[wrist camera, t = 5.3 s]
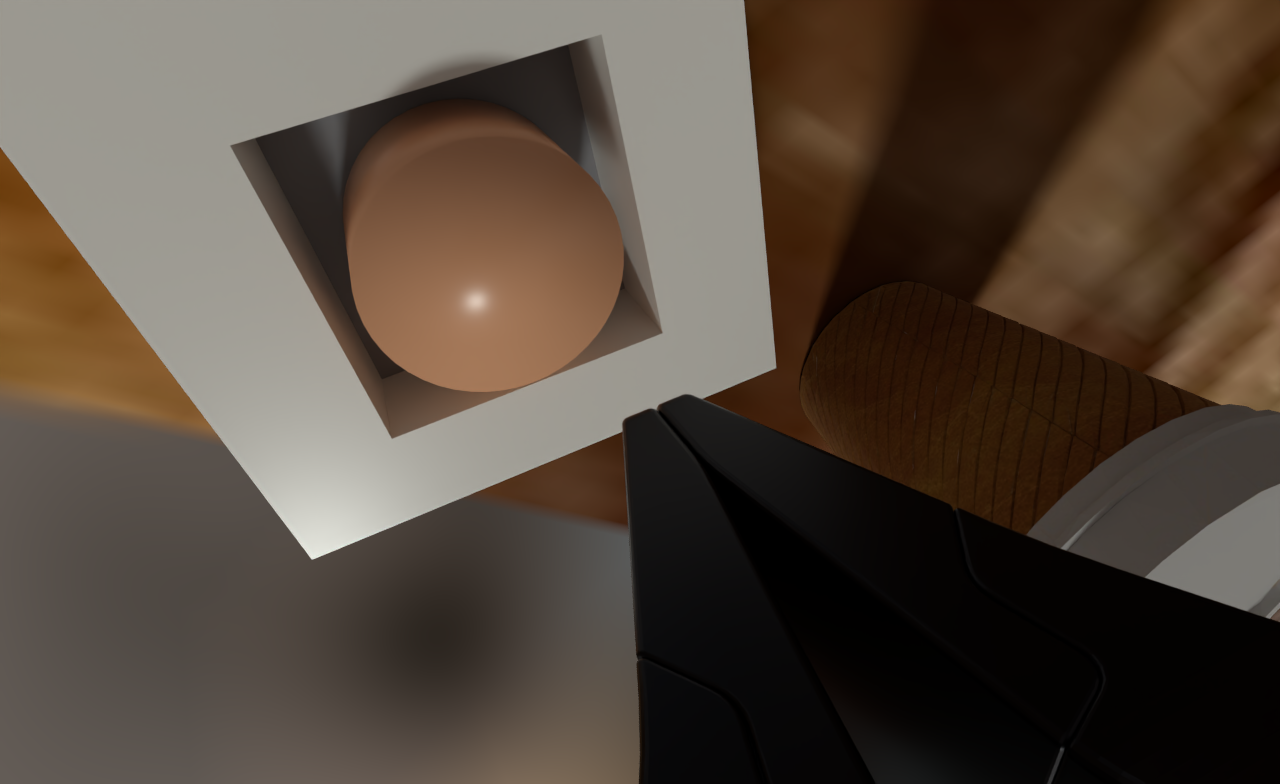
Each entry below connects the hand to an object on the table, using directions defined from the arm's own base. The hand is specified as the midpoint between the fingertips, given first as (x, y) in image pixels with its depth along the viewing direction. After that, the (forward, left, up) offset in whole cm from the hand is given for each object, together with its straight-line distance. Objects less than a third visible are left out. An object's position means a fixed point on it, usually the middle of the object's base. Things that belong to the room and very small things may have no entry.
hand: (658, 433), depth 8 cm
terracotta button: (+1, 0, -9) cm, 9 cm away
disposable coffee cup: (-11, +11, -11) cm, 19 cm away
